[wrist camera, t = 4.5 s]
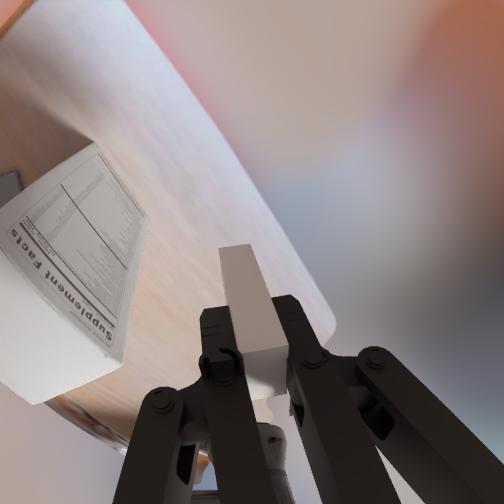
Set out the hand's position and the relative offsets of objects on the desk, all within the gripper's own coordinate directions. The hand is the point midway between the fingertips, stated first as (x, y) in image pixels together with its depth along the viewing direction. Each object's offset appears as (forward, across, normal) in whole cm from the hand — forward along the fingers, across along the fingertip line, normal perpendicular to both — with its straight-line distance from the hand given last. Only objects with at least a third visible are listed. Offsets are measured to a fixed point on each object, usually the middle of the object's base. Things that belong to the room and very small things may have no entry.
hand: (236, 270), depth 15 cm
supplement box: (+14, +12, 0) cm, 18 cm away
